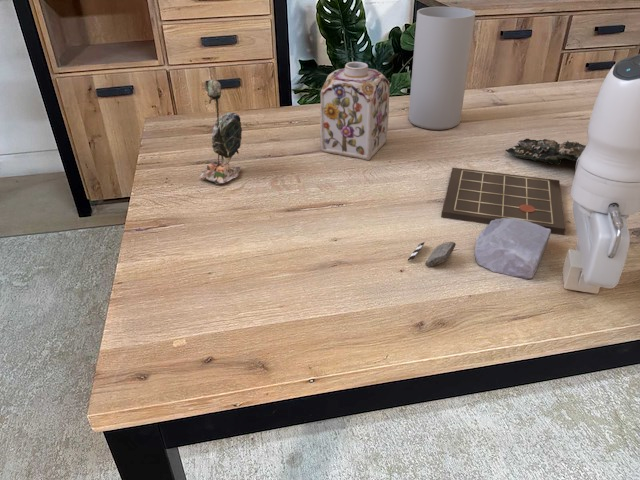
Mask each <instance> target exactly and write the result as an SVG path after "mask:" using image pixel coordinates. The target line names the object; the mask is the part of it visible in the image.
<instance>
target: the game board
mask: <svg viewBox="0 0 640 480" xmlns="http://www.w3.org/2000/svg"><path fill="white" fill-rule="evenodd" d="M441 218H443V219H450V220H451V219H452V220H457V221H458V220H459V221H464V222H471V223H478V224H487V225H489V224H490V222H491V221H492V220H495V219H501V218H516V219H520V220H524V221H529V222H531V223H533V224H537V225H540V226H542V227H544V228H548V229H551V232H550V234H556V235H563V236H564V235H565V233H566V230H567V229H566V221H565V212H564V205H563V197H562V190H561V183H560V179H553V178H545V177H537V176H528V175H518V174H510V173H503V172H494V171H485V170H477V169H468V168H461V167H452V168H451V172H450V177H449V180H448V185H447V189H446V193H445V197H444V201H443V206H442V210H441Z"/></svg>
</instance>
